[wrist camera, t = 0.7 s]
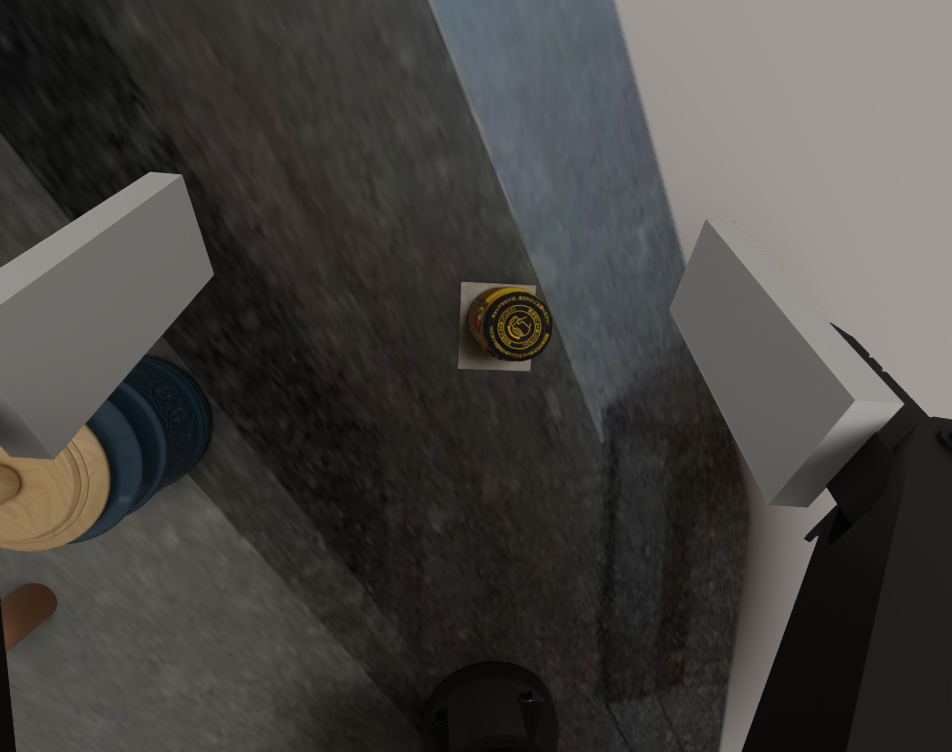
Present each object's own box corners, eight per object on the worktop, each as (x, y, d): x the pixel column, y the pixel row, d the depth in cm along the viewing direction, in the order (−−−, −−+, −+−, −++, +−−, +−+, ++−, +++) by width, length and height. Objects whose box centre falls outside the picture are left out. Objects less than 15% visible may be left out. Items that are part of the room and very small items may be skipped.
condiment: (535, 285, 47) (568, 284, 35) (529, 370, 48) (559, 396, 37) (461, 281, 46) (469, 278, 35) (457, 368, 48) (464, 393, 36)
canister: (226, 474, 48) (106, 579, 30) (90, 489, 47) (-112, 606, 30) (201, 345, 45) (56, 379, 28) (57, 359, 45) (-183, 402, 27)
